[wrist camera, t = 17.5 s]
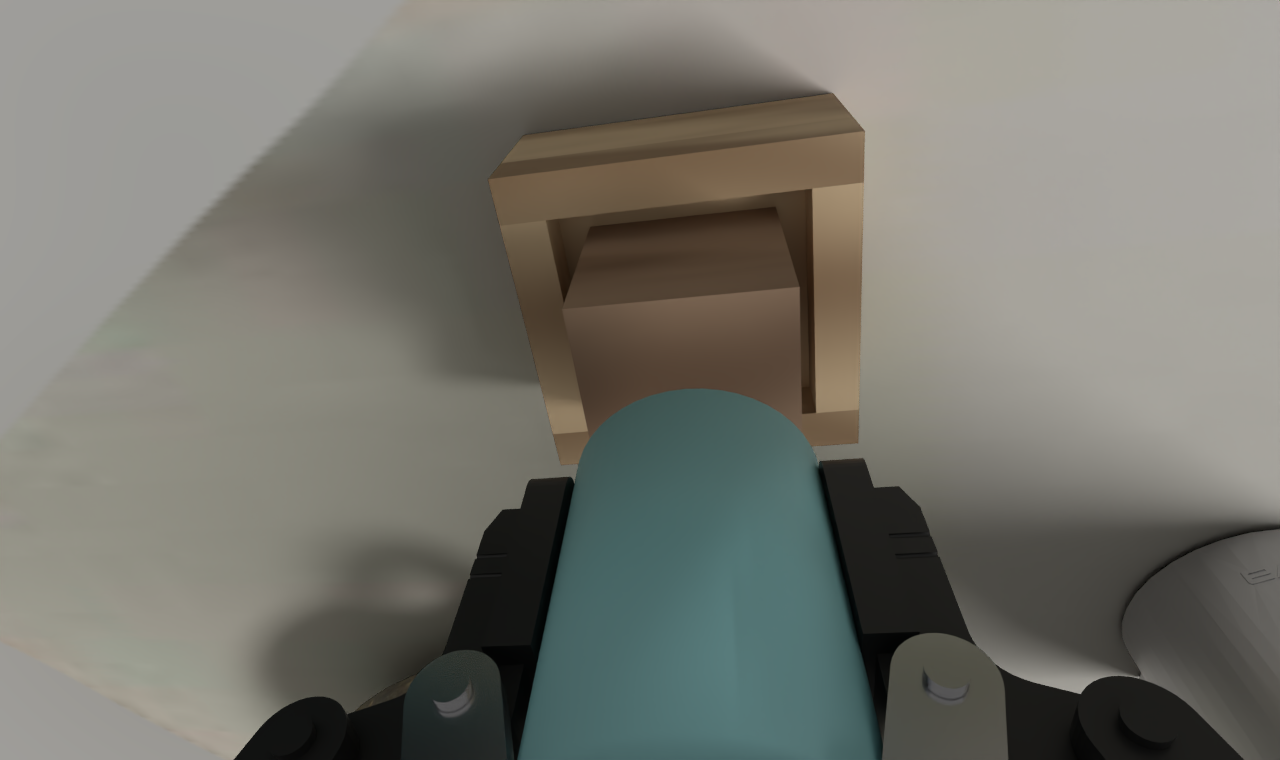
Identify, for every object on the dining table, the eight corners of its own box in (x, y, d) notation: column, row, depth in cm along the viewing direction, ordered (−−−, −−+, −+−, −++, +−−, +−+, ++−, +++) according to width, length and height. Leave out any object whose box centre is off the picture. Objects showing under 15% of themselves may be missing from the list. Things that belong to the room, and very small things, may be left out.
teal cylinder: (820, 568, 14) (893, 936, 9) (597, 578, 14) (547, 932, 9) (821, 378, 12) (920, 732, 7) (555, 398, 12) (458, 740, 7)
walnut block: (781, 367, 22) (803, 475, 17) (617, 380, 22) (600, 487, 18) (775, 206, 19) (799, 287, 15) (590, 226, 20) (561, 309, 15)
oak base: (833, 365, 25) (858, 443, 21) (579, 388, 26) (560, 465, 22) (833, 93, 20) (864, 131, 16) (523, 135, 21) (487, 179, 18)
